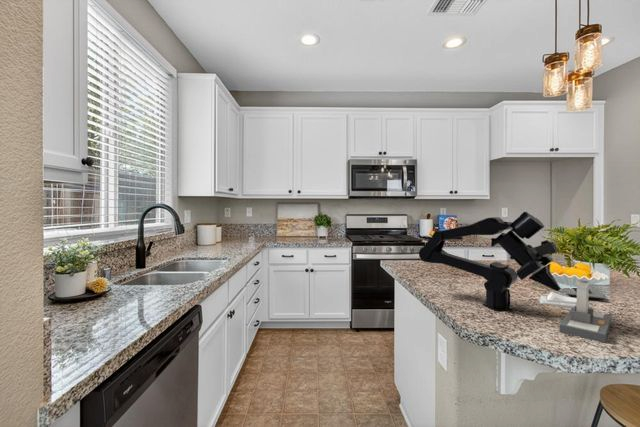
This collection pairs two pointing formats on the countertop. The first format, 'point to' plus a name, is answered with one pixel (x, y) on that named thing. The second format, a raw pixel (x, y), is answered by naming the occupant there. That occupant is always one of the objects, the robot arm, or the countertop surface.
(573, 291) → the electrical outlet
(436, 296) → the countertop surface
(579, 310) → the handle
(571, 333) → the grey stand base
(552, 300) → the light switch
